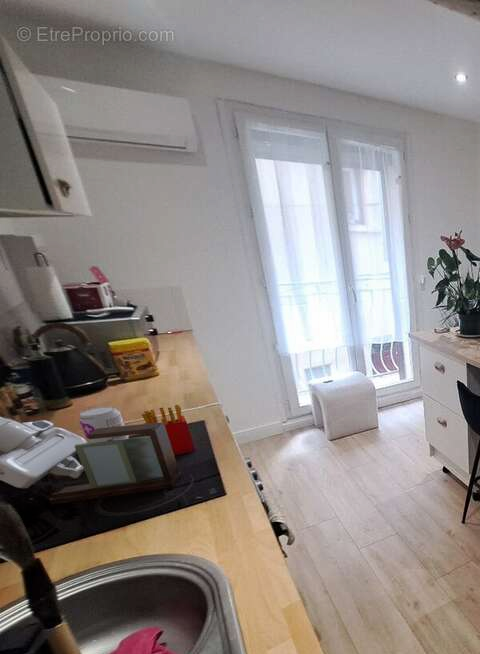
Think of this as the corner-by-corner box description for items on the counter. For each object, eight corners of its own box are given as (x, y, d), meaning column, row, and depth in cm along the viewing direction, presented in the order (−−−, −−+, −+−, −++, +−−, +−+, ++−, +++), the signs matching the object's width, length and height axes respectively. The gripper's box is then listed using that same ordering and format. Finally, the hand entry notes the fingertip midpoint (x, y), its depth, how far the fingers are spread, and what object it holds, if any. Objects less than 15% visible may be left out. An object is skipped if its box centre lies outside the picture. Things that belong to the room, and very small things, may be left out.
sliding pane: (91, 489, 103) (74, 445, 98) (94, 487, 103) (76, 444, 99) (137, 483, 106) (121, 440, 101) (138, 481, 106) (123, 439, 102)
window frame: (51, 505, 99) (22, 443, 93) (67, 492, 104) (41, 432, 98) (172, 487, 107) (153, 429, 101) (181, 476, 113) (164, 420, 107)
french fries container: (153, 453, 124) (139, 410, 119) (191, 444, 130) (179, 403, 126) (156, 461, 120) (141, 417, 115) (195, 451, 126) (183, 409, 121)
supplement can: (101, 467, 116) (82, 418, 111) (92, 459, 120) (73, 412, 115) (138, 455, 123) (122, 409, 117) (128, 448, 127) (112, 403, 121)
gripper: (-17, 453, 85) (63, 485, 92) (50, 417, 103) (113, 446, 110) (-37, 475, 85) (44, 506, 92) (34, 435, 103) (97, 463, 110)
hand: (82, 473), depth 101 cm, fingers closed, pressing on sliding pane
